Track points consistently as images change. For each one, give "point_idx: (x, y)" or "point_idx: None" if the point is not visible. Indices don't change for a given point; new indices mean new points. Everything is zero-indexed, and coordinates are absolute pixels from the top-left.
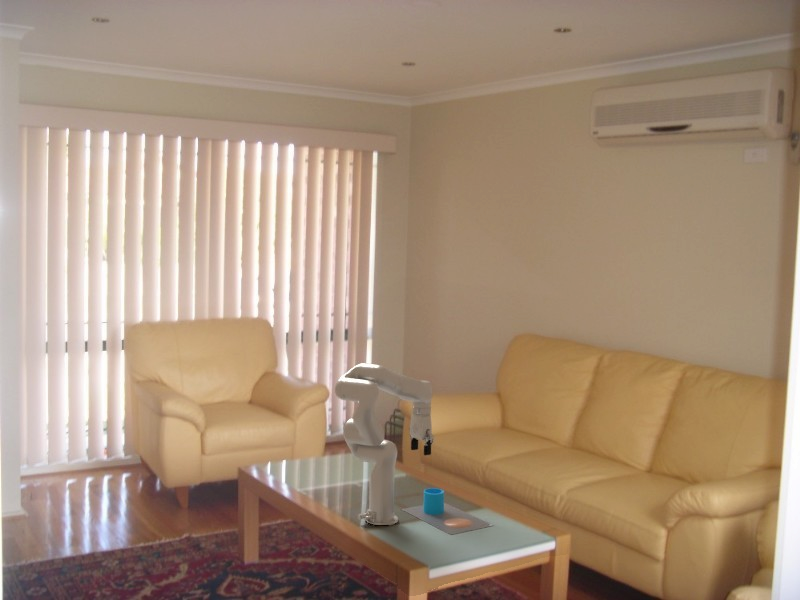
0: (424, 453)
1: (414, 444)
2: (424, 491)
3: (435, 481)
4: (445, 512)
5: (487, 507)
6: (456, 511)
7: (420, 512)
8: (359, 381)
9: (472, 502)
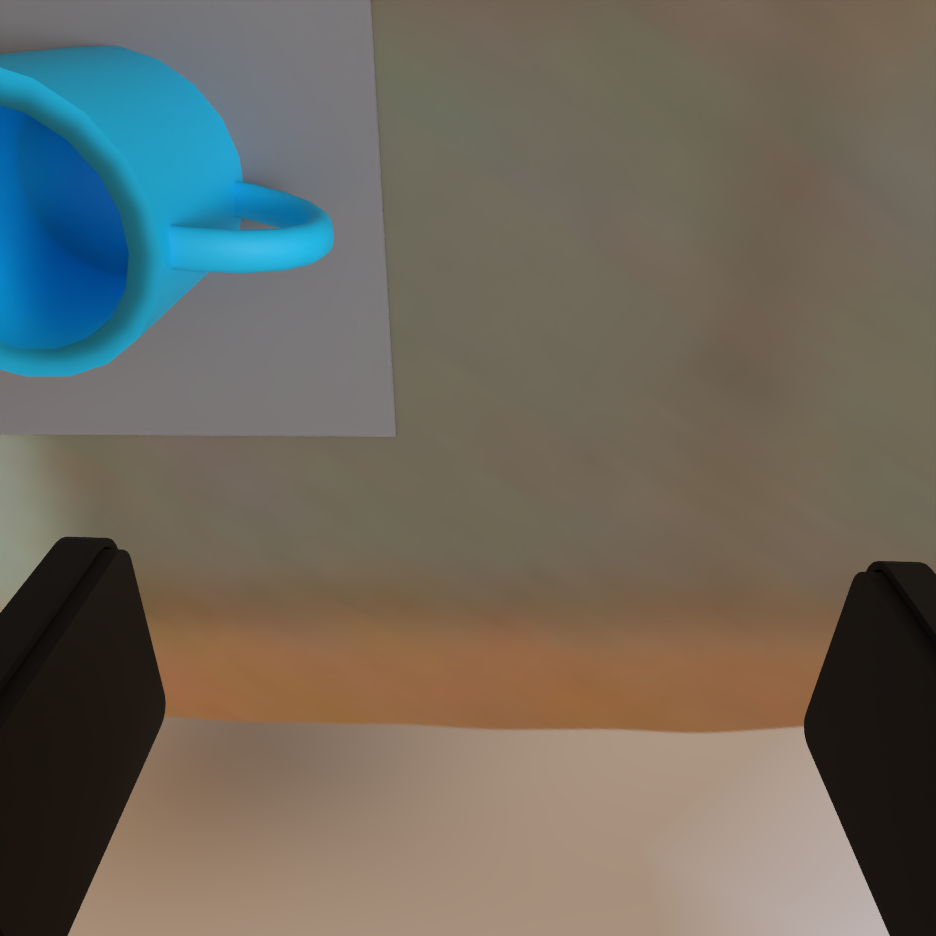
0: (38, 568)
1: (915, 777)
2: (28, 90)
3: None
4: None
5: None
6: (55, 380)
7: (138, 2)
8: None
9: (257, 622)
